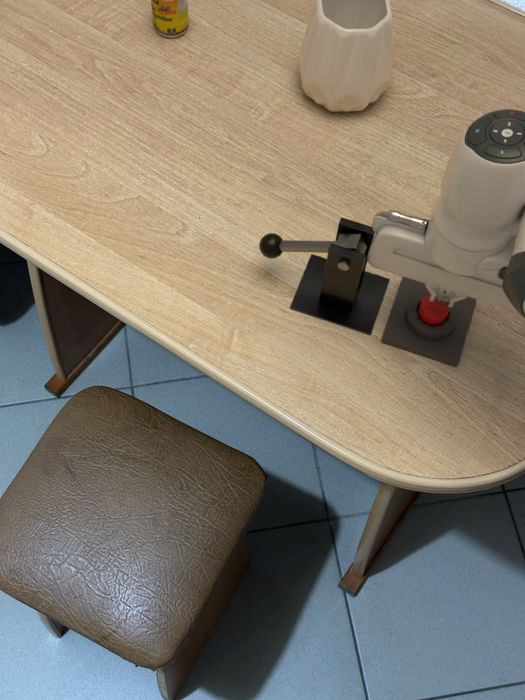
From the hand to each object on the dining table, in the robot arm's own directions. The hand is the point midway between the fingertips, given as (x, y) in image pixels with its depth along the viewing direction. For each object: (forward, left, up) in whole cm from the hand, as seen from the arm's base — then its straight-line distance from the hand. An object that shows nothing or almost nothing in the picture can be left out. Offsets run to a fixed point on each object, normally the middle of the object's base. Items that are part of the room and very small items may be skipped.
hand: (441, 300), depth 103 cm
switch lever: (+17, 0, +1) cm, 17 cm away
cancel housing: (0, 0, -7) cm, 7 cm away
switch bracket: (+12, 0, -7) cm, 14 cm away
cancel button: (0, 0, -3) cm, 3 cm away
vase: (+23, -36, -7) cm, 43 cm away
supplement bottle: (+52, -38, -7) cm, 65 cm away
